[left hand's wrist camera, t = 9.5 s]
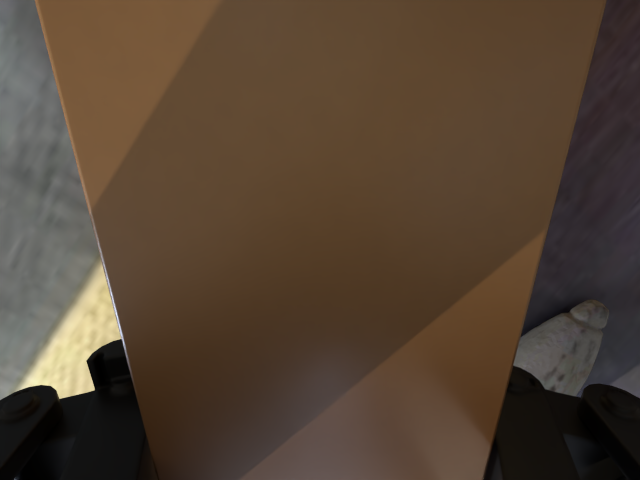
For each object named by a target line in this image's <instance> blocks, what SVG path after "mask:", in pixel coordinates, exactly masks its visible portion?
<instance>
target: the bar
mask: <svg viewBox="0 0 640 480" xmlns="http://www.w3.org/2000/svg"><path fill="white" fill-rule="evenodd" d="M606 1H607V0H35V3H36V7H37V11H38V15H39V19H40V22H41V26H42V30H43V34H44V38H45V42H46V46H47V50H48V54H49V58H50V61H51V65H52V69H53V73H54V77H55V81H56V85H57V89H58V93H59V97H60V100H61V104H62V108H63V112H64V116H65V120H66V124H67V128H68V132H69V136H70V140H71V143H72V147H73V151H74V155H75V159H76V163H77V167H78V171H79V175H80V179H81V182H82V186H83V190H84V194H85V198H86V202H87V206H88V210H89V214H90V218H91V221H92V225H93V229H94V233H95V237H96V241H97V245H98V249H99V253H100V257H101V261H102V264H103V268H104V272H105V276H106V280H107V284H108V288H109V292H110V296H111V300H112V303H113V307H114V311H115V315H116V319H117V323H118V327H119V331H120V335H121V339H122V342H123V346H124V350H125V354H126V358H127V362H128V366H129V370H130V374H131V378H132V382H133V385H134V389H135V393H136V397H137V401H138V405H139V409H140V413H141V417H142V421H143V424H144V428H145V432H146V436H147V440H148V444H149V448H150V452H151V456H152V460H153V463H154V467H155V471H156V475H157V479H158V480H484V478H485V474H486V470H487V466H488V462H489V458H490V454H491V450H492V446H493V442H494V439H495V435H496V431H497V427H498V423H499V419H500V415H501V411H502V407H503V403H504V400H505V396H506V392H507V388H508V384H509V380H510V376H511V372H512V368H513V364H514V361H515V357H516V353H517V349H518V345H519V341H520V337H521V333H522V329H523V325H524V322H525V318H526V314H527V310H528V306H529V302H530V298H531V294H532V290H533V286H534V282H535V279H536V275H537V271H538V267H539V263H540V259H541V255H542V251H543V247H544V243H545V240H546V236H547V232H548V228H549V224H550V220H551V216H552V212H553V208H554V204H555V201H556V197H557V193H558V189H559V185H560V181H561V177H562V173H563V169H564V165H565V162H566V158H567V154H568V150H569V146H570V142H571V138H572V134H573V130H574V126H575V122H576V119H577V115H578V111H579V107H580V103H581V99H582V95H583V91H584V87H585V83H586V80H587V76H588V72H589V68H590V64H591V60H592V56H593V52H594V48H595V44H596V41H597V37H598V33H599V29H600V25H601V21H602V17H603V13H604V9H605V5H606Z"/></svg>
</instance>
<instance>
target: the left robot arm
mask: <svg viewBox="0 0 640 480" xmlns="http://www.w3.org/2000/svg"><path fill="white" fill-rule="evenodd" d="M87 364H88V367H89V371H90V374H91V377H92V380H93V384H94V387H95V391H91V392H88V393H84V394H79V395H75V396H71V397H66V398H62V399H59V397H58V394H57V391H56V390H55V389H54V388H52V387H51V386H44V385H39V386H33V387H28V388H25V389H22V390H19V391H17V392H14V393H13V394H11V395H9V396H7V397H5V398H3V399H2V400H0V480H158V479H157V475H156V471H155V467H154V463H153V460H152V456H151V452H150V448H149V444H148V440H147V436H146V432H145V428H144V424H143V421H142V417H141V413H140V409H139V405H138V401H137V397H136V393H135V389H134V385H133V382H132V378H131V374H130V370H129V366H128V362H127V358H126V354H125V350H124V346H123V342H122V339H120V340H116V341H113V342H110V343H108V344H106V345H104V346H102V347H100V348H99V349H98V350H96V351H95V352H94V353H92V355H91V356H90V357H89V358H88V360H87ZM484 480H640V398H638V397H636V396H634V395H632V394H631V393H629V392H627V391H625V390H622V389H619V388H617V387H614V386H610V385H604V384H591V385H588V386H587V387H586V388H585V389H584V390H583V393H582V396H581V398H580V397H576V396H571V395H567V394H562V393H558V392H554V391H550V390H547V389H545V388H544V386H543V385H542V383H541V382H540V380H538V379H537V378H536V377H535V376H534V375H532V374H531V373H529V372H527V371H526V370H524V369H522V368H520V367H516V366H513V368H512V372H511V376H510V380H509V384H508V388H507V392H506V396H505V400H504V403H503V407H502V411H501V415H500V419H499V423H498V427H497V431H496V435H495V439H494V442H493V446H492V450H491V454H490V458H489V462H488V466H487V470H486V474H485V478H484Z"/></svg>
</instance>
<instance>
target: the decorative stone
mask: <svg viewBox="0 0 640 480" xmlns="http://www.w3.org/2000/svg"><path fill="white" fill-rule="evenodd" d="M608 316H609V310H608V309H607V308H606V306H604V305H603V304H602V303H600V302H598V301H596V300H592V299H590V300H586V301H584V302H583V303H580V304H578V305H577V306H575V307H574V308H572V309H571V310H570V312H569V313H561V314H559V315H557V316H555V317H553V318H551V319H549V320H547V321H546V322H544V323H542V324H541V325H539V326H537V327H535V328H533V329H532V330H530V331H529V332H528V333H526V334H525V335H523V336H522V337H521V338H520V341H519V345H518V349H517V353H516V357H515V361H514V364H513V366H516V367H520V368H522V369H524V370H526V371H527V372H529V373H531V374H532V375H534V376H535V377H536V378H537V379H538V380H540V382H541V383H542V385H543V386H544V388H545V389H547V390H550V391H554V392H558V393H562V394H567V395H571V396H576V395H577V394H578V392H579V391H580V389H581V388H582V386H583V384H584V383H585V381H586V380H587V378H588V376H589V374H590V372H591V369H592V367H593V365H594V362H595V360H596V357H597V354H598V351H599V348H600V345H601V341H602V337H603V333H602V331H601V329H602V328H604V327H605V326H606V324H607V320H608Z"/></svg>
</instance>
